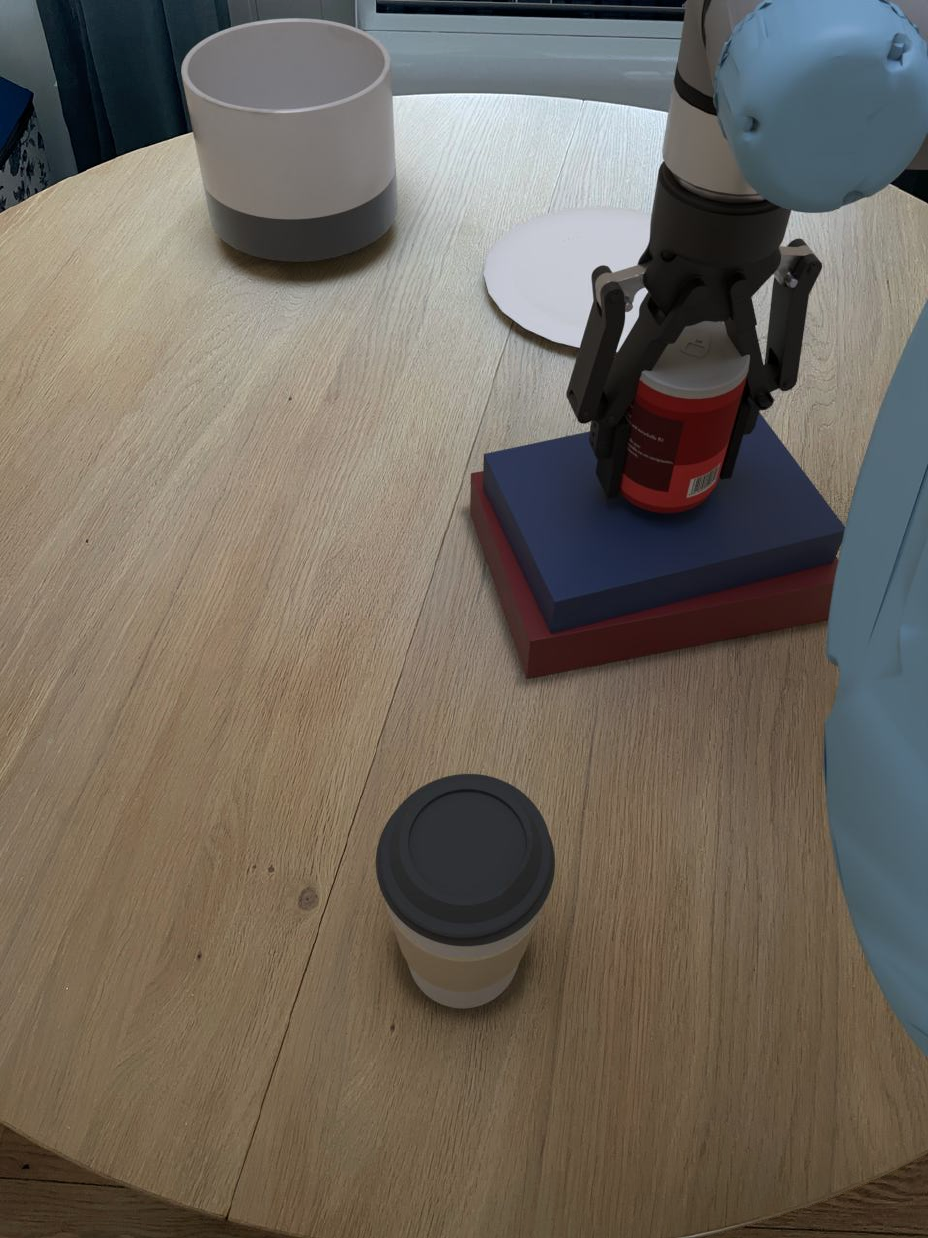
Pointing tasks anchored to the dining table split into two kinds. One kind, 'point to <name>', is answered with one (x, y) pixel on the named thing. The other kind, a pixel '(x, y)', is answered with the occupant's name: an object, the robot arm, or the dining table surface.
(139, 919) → the dining table surface
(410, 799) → the coffee cup
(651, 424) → the canned food
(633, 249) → the plate
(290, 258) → the planter
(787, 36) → the robot arm
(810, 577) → the book stack
